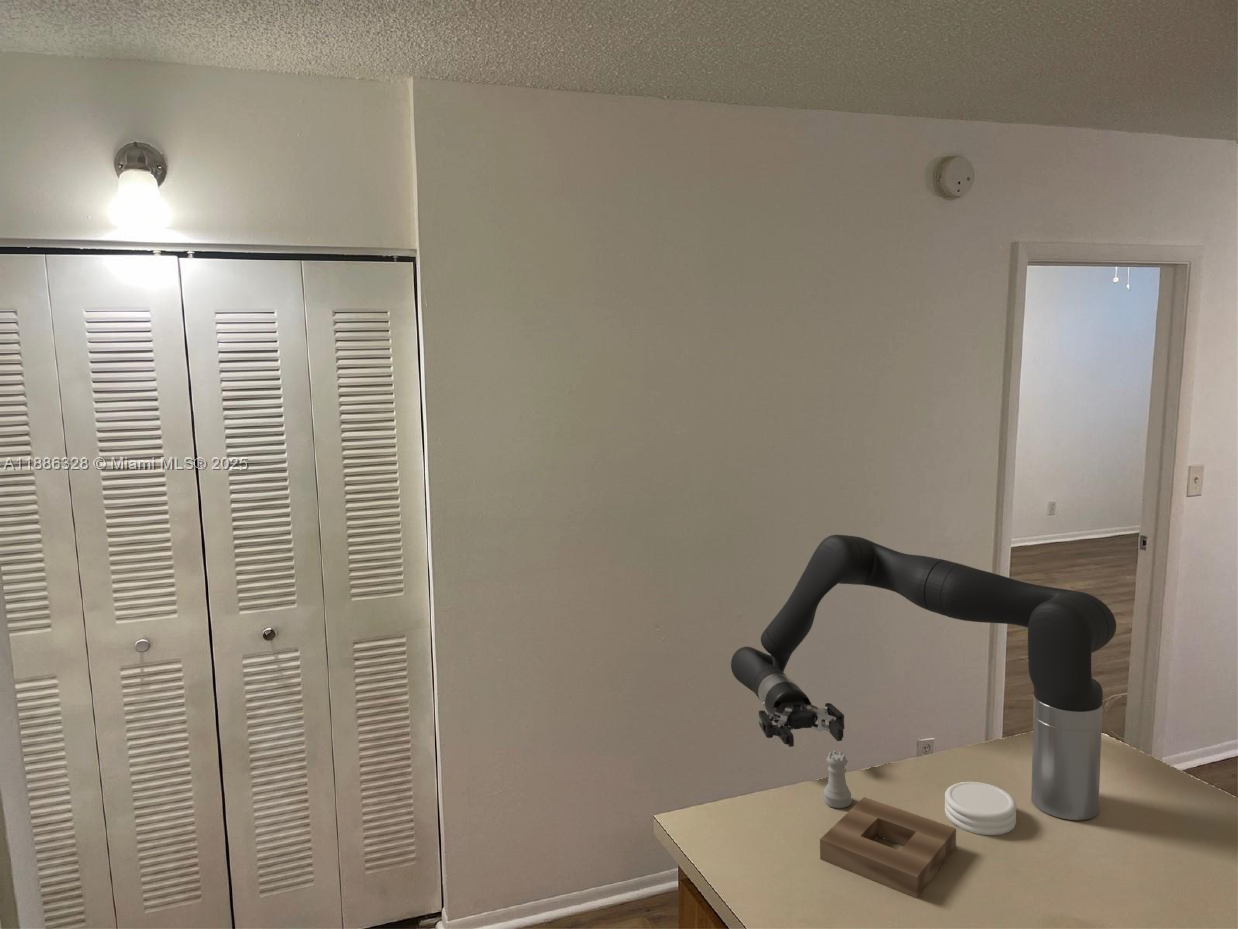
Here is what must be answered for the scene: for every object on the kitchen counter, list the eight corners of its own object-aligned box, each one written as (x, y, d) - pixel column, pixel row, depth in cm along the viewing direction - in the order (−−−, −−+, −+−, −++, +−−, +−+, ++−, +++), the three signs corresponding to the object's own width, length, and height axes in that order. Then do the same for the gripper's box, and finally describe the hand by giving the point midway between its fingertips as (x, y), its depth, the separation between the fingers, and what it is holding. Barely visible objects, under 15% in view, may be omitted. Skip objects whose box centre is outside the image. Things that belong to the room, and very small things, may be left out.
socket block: (864, 815, 129) (863, 797, 129) (955, 847, 120) (956, 828, 120) (820, 858, 119) (819, 839, 119) (917, 898, 110) (917, 877, 109)
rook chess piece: (852, 810, 131) (852, 762, 130) (823, 808, 132) (822, 761, 131) (850, 795, 135) (850, 749, 134) (822, 793, 136) (821, 747, 135)
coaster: (1009, 804, 131) (1009, 783, 131) (1022, 841, 122) (1022, 818, 121) (941, 798, 134) (941, 777, 133) (948, 833, 124) (948, 811, 124)
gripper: (746, 685, 156) (775, 722, 140) (819, 677, 158) (856, 713, 142) (747, 723, 157) (776, 764, 141) (820, 715, 159) (856, 755, 143)
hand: (816, 738), depth 141 cm, fingers open, 8 cm apart
